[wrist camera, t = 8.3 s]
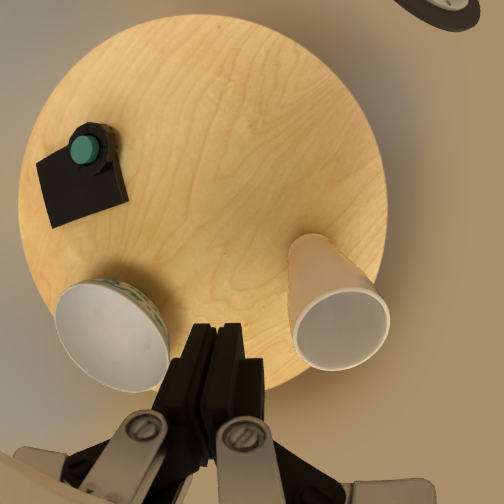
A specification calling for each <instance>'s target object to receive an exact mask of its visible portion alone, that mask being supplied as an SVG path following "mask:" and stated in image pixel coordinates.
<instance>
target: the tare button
mask: <svg viewBox="0 0 504 504" xmlns="http://www.w3.org/2000/svg"><path fill="white" fill-rule="evenodd" d="M99 150H100V146H99V142H98V140H97V139H96V138H95V137H93V136H79V137H77V138H76V139H75V140H74V142H73V144H72V146H71V156H72V159H73V160H74V161H75V162H76V163H78V164H85V163H91V162H93V161H94V160H95V159H96V158H97V156H98V154H99Z"/></svg>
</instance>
